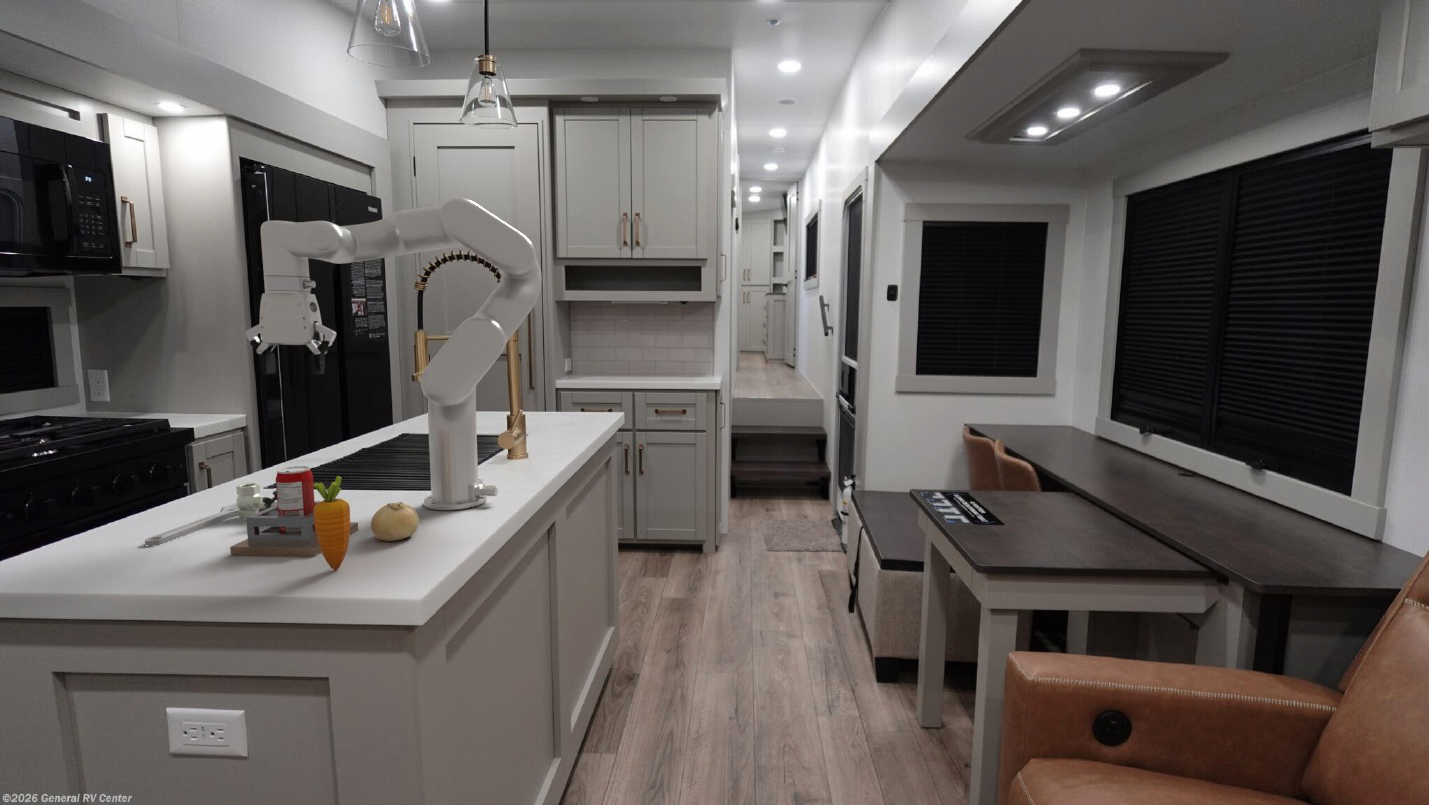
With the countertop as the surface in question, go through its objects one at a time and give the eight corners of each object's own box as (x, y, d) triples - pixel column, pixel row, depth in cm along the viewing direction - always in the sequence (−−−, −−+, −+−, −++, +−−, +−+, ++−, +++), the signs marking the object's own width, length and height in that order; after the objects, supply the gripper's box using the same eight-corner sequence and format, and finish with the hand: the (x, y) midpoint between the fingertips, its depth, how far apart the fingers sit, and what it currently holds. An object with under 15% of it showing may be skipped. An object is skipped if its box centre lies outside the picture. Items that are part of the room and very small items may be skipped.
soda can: (312, 526, 124) (307, 462, 123) (319, 534, 120) (315, 467, 119) (277, 533, 120) (271, 467, 119) (283, 541, 116) (278, 472, 115)
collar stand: (358, 530, 127) (356, 499, 126) (314, 556, 113) (311, 521, 113) (284, 529, 127) (281, 498, 127) (230, 555, 113) (227, 520, 113)
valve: (226, 520, 133) (262, 529, 128) (223, 487, 132) (260, 495, 127) (261, 511, 139) (297, 520, 133) (259, 480, 138) (295, 487, 133)
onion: (361, 542, 121) (358, 503, 120) (394, 529, 128) (392, 492, 127) (397, 547, 118) (395, 508, 117) (429, 533, 126) (427, 496, 125)
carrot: (315, 578, 104) (308, 482, 102) (319, 567, 109) (313, 475, 107) (352, 573, 106) (346, 479, 104) (354, 562, 111) (349, 473, 109)
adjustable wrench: (155, 550, 117) (154, 540, 117) (123, 547, 118) (122, 538, 118) (271, 508, 142) (270, 500, 142) (244, 507, 143) (243, 499, 143)
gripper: (342, 287, 136) (347, 372, 138) (256, 287, 136) (262, 372, 138) (320, 286, 129) (326, 376, 131) (229, 285, 129) (236, 375, 131)
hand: (293, 374), depth 135 cm, fingers open, 9 cm apart
